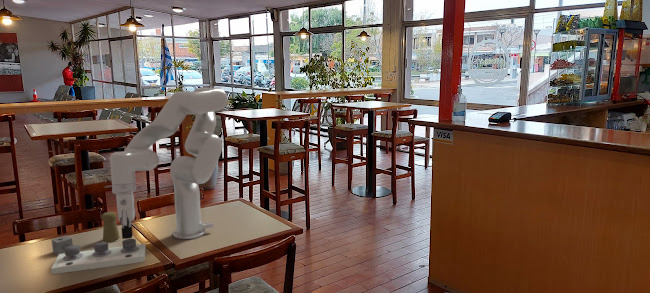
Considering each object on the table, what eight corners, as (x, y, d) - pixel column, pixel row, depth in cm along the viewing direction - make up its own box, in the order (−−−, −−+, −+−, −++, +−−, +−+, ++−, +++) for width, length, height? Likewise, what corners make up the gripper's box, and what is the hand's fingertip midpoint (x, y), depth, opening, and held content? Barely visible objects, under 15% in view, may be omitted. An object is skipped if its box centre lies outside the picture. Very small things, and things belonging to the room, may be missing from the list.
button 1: (80, 250, 156) (80, 244, 156) (78, 254, 152) (77, 249, 152) (66, 251, 155) (65, 246, 154) (63, 256, 151) (63, 251, 150)
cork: (113, 243, 171) (110, 215, 169) (99, 241, 172) (96, 214, 170) (123, 237, 177) (120, 210, 175) (109, 236, 178) (107, 209, 176)
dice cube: (53, 252, 163) (51, 239, 162) (67, 248, 167) (66, 235, 166) (58, 256, 160) (56, 242, 159) (73, 251, 163) (71, 238, 163)
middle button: (109, 246, 159) (108, 241, 159) (107, 251, 155) (107, 245, 155) (95, 248, 158) (94, 242, 157) (93, 253, 154) (93, 247, 153)
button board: (145, 248, 166) (145, 242, 165) (144, 261, 155) (143, 255, 154) (59, 259, 157) (59, 253, 156) (51, 274, 145) (50, 267, 145)
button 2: (136, 243, 162) (136, 237, 162) (135, 247, 158) (135, 242, 158) (123, 244, 161) (122, 239, 160) (122, 249, 156) (121, 244, 156)
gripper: (134, 191, 150) (137, 244, 153) (137, 181, 163) (140, 229, 166) (109, 193, 147) (113, 246, 150) (114, 183, 161) (117, 231, 164)
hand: (127, 237), depth 158 cm, fingers closed
